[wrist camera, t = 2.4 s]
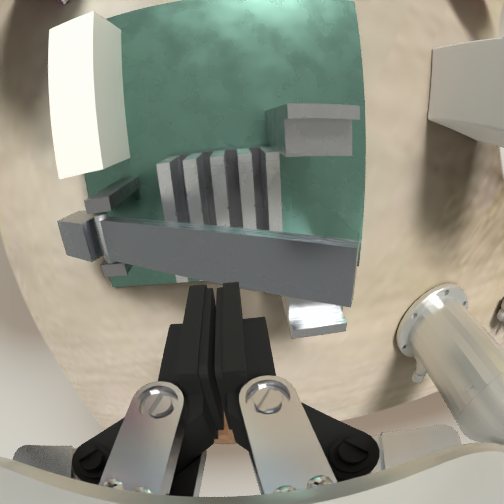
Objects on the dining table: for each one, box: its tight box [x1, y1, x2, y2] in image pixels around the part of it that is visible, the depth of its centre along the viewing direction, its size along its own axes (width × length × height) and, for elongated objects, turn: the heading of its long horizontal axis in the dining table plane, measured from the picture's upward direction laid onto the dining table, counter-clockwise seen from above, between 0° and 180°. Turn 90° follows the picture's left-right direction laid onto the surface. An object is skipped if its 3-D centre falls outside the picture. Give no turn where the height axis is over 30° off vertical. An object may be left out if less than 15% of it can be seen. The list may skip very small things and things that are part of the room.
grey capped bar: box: [57, 211, 359, 307], centre depth 17 cm, size 4×22×2 cm, turn 94°
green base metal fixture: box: [84, 0, 366, 339], centre depth 19 cm, size 27×26×11 cm
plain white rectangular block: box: [48, 11, 130, 179], centre depth 18 cm, size 12×4×6 cm, turn 4°
